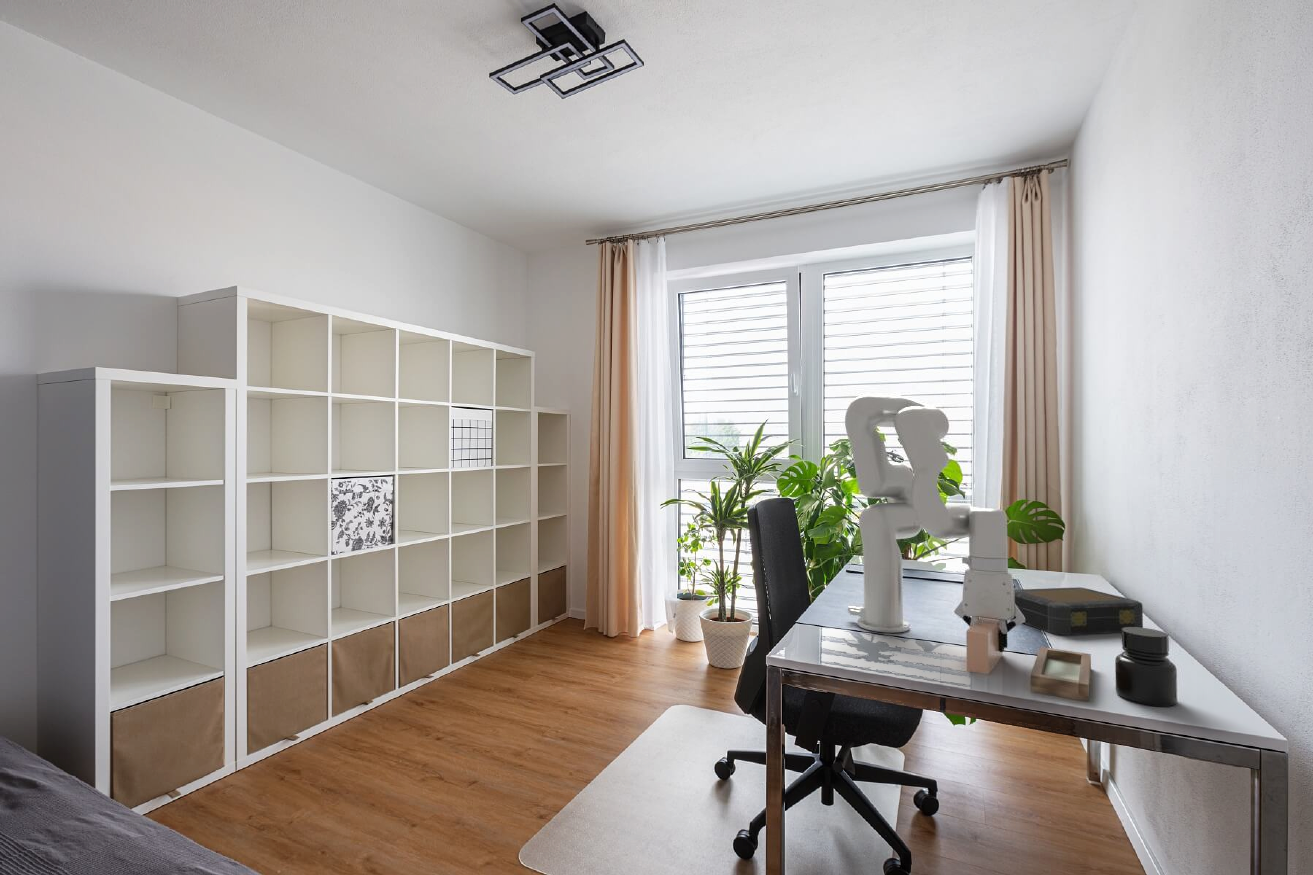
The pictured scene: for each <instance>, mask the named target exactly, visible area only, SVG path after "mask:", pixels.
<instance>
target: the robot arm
mask: <svg viewBox="0 0 1313 875" xmlns="http://www.w3.org/2000/svg"><path fill="white" fill-rule="evenodd" d="M844 425H845V426H844V427H845V431H846V434H847V438H848V442H849V444H850V448H851V452H852V453H851V454H852V458H853V459H852V460H853V463H854V464H853V465H854V470H855V475H856V482H857V485H858V486H857V487H858V489H859V491H860V493H861V495H863V497H865V498H868V499H886V501H887V502H878V503H874V504H873V503H872V504H870V505H868V506H866V507H865V508H863V509H862V511H861V513H860V514H859V519H858V526H859V532H860V536H861V537H860V538H861V542H862V558H863V559H862V561H863V562H862V564H863V606H860V607H857V606H853V605H849V606H848V608H847V612H848V614H850V616H851V615H852V616H858V617H859V618H858V619H857V626H859V627H860V628H862V629H864V630H868V631H871V632H879V633H887V634H888V633H895V634H896V633H903V632H907V631H909V630H910V623H909V622H908V621H906V620H904V606H903V605H904V604H903V603H904V592H903V590H904V586H903V585H904V584H903V583H904V582H903V581H904V580H903V577H904V576H903V571H904V570H903V568H904V567H903V555H902V552H901V548H900V546H899V545H898V541H897V540H901V539H902V540H903V539H910V538H913V537H916V536H917V535H918V534H919V533H920V532H921V530H922V528H923V529H924V530H925V532H926V533H927V535H929V536H930V537H932V538H934V539H937V540H953V539H964V538H968V548H969V549H968V551H969V552H968V554H969V555H968V556H965V557H962V558H961V561H962V562H961V564H964V565H967V566H968V568H966V569H965V570H964V575H963V584H962V596H961V597H962V598H961V599H962V601H960V603H959V604H958V605H957V607H956V608H955V609H954V611H953V613H954V615H956V616H957V617H959V618H960V619H962V620H963V621H964V622H965V624H967V626H968V627H969V628H970V627H971V626H972V625H973V624H974V623H975V622H976V621H977V620H978V619H979V618H988V619H996V620H999V624H1000V628H1001V629H1000V633H999V651H1000V652H1002V653H1003V652H1004V651H1005V649H1008V633H1009V632H1010V631H1011V630H1013V629H1014V628H1015V627H1017V626H1019V625H1022V624H1023V623H1024V622H1025V620H1026V618H1025V617H1024V616H1023V614H1022V613H1021V611H1020V610H1019V608H1018V607H1017V606H1016V604H1015V592H1014V590H1015V585H1014V580H1013V576H1012V572H1011V571H1009V570H1008V569H1009V568H1008V567H1009V565H1008V564H1009V562H1008V559H1009V558H1008V515H1007V513H1006V512H1005V510H1003V509H1000V508H993V507H991V508H990V507H975V506H971V505H966V504H957V505H956V504H955V505H951V504H950V505H945V503H944V501H943V499H942V496H941V494H940V491H939V487H938V479H939V475H940V474H941V472H942V471H943V470H945V469H946V468H947V467H948V465H949V464H950V457H949V456H948V453H947V451H946V449H945V447H944V445H943V442H942V441H941V440H942V439H944V438H945V437H946V436H947V434H948V432H949V430H950V429H949V428H950V422H949V419H948V417H947V415H946V414H945V413H944V412H943V411H942V409H939V408H937V407H934V406H931V405H930V404H926V403H923V402H920V401H918V400H915V399H912V398H909V397H907V396H902V395H893V394H885V393H884V394H882V393H866V394H862V395H859V396H857V397H856V398H855V399H853V400H852V401H851V402H850V404H849V405H848V407H847V409H846V412H845V418H844ZM877 427H883V428H894V429H895V432H896V434H897V436H898V439H899V441H900V443H901V446H902V448H903V450H904V452H905V455H906V457H907V460H908V462H909V465H910V466H911V469H912V470H911V469H910V468H909V467H908V466H907V465H905V464H904V463H900V462H897V461H893V462H891V461H889V458H888V455H887V450H886V448H887V447H886V445H885V442H884V440H883V438H882V436H881V434H879V432H878V431H877ZM912 471H913V472H912ZM1014 615H1015V616H1016V619H1014V620H1012V619H1013V617H1014ZM1008 621H1009V622H1008Z"/></svg>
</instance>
